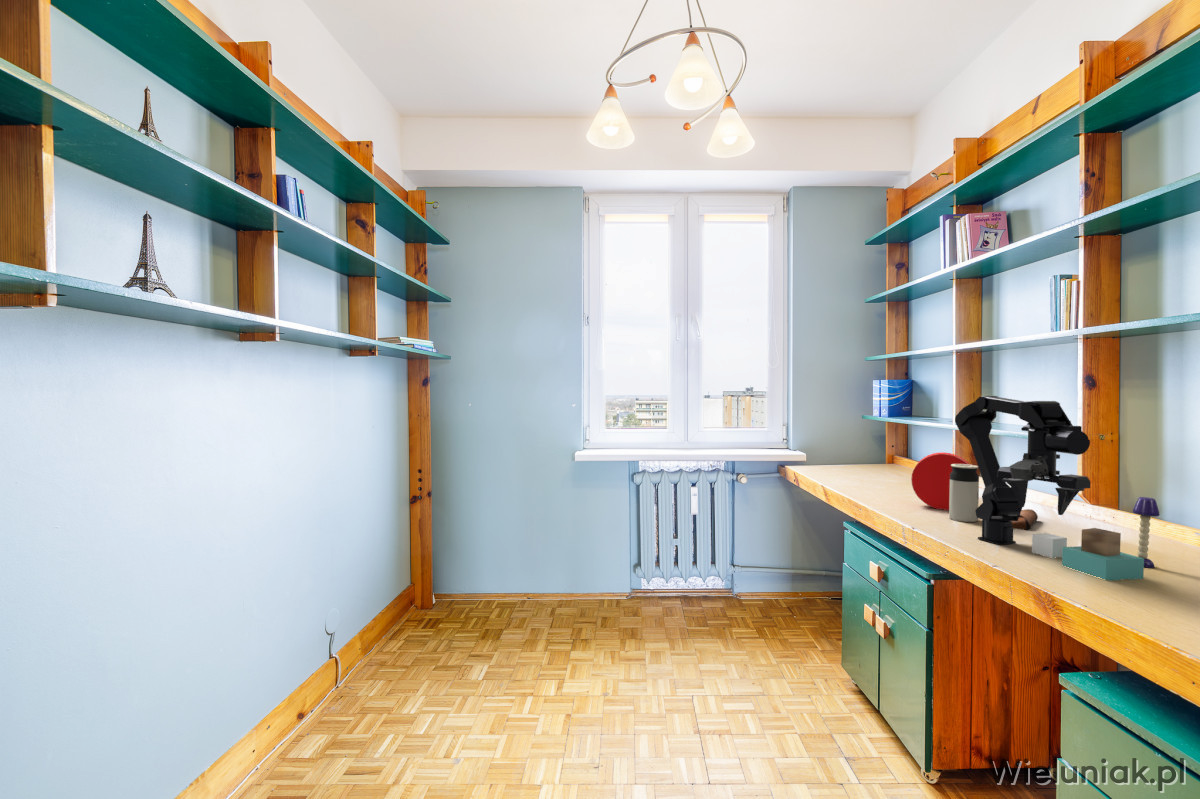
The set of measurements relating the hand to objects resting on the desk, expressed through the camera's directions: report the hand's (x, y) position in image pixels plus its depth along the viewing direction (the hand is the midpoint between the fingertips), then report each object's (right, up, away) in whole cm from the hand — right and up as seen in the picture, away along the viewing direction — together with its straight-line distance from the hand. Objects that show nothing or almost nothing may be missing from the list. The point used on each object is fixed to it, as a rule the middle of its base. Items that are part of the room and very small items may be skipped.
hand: (1040, 510), depth 139 cm
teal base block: (+6, -13, -11) cm, 18 cm away
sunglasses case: (+22, -12, +36) cm, 44 cm away
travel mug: (+7, -11, +40) cm, 43 cm away
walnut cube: (+5, -8, -11) cm, 14 cm away
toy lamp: (+21, -12, -6) cm, 25 cm away
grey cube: (+4, -12, +3) cm, 13 cm away
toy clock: (+11, -11, +57) cm, 60 cm away
